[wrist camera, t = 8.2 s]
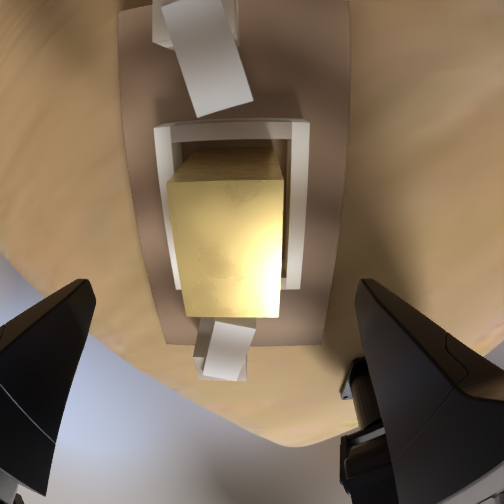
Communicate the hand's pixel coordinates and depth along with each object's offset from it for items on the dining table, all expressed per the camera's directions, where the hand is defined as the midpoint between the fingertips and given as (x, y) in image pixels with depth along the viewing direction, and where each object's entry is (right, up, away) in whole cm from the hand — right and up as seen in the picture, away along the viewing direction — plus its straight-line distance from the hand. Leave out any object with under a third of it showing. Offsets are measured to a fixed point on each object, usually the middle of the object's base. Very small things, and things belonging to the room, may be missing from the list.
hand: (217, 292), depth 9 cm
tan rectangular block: (0, +4, +7) cm, 8 cm away
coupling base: (0, +5, +9) cm, 10 cm away
